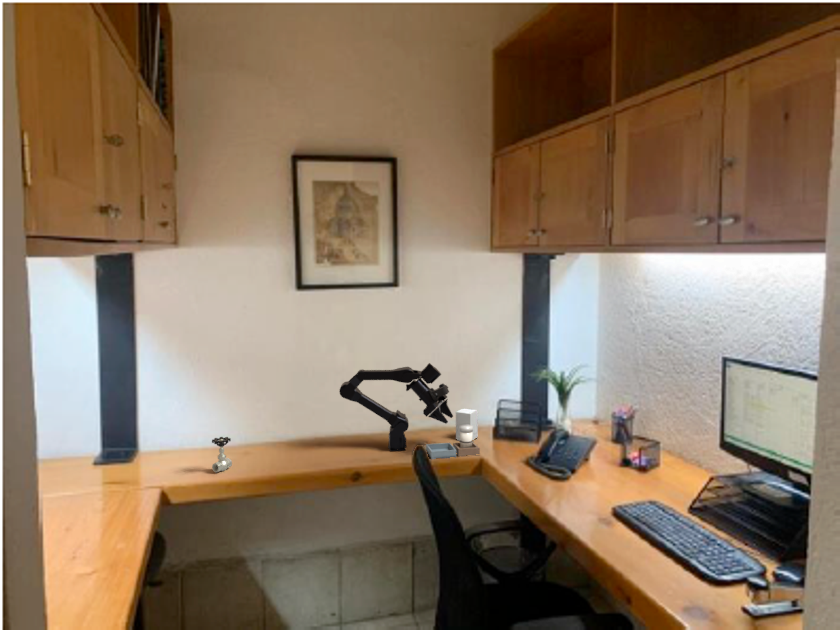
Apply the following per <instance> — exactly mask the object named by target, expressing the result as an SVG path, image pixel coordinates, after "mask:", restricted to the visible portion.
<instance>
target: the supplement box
mask: <svg viewBox="0 0 840 630" xmlns="http://www.w3.org/2000/svg"><path fill="white" fill-rule="evenodd" d="M478 414H479V412H478V409H472V408H471V409H470V408H461V409H459V410H457V411H455V440H456V439H457V440H456V441H460V425H463V424H468V425H472V426H473V432H472V440H474V439H475V438H477V437H478V438H479V436H478V434H479V425H478V424H479V422H478V420H479V419H478V418H479V415H478ZM478 438H477V439H478ZM474 441H475V440H474Z"/></svg>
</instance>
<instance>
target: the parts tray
mask: <svg viewBox="0 0 840 630" xmlns="http://www.w3.org/2000/svg"><path fill="white" fill-rule="evenodd" d="M426 450H427V452H428V453H427V452H426V453H427V455H428V454H429V455H428V456H429V458H430V459H431V460H435V459H436V458H441V459H451V458H450V457H455V458H457V454H456V449H455V448H454V447H453V444H451V442H442V443H441V442H440V443H426V444H425V451H426ZM436 460H437V459H436Z"/></svg>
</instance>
